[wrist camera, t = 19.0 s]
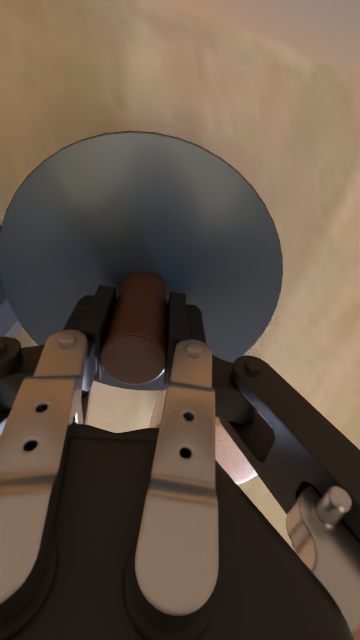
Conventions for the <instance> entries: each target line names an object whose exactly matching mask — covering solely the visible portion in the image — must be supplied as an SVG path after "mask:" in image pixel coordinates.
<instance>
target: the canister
mask: <svg viewBox="0 0 360 640" xmlns="http://www.w3.org/2000/svg"><path fill="white" fill-rule="evenodd" d="M0 232H1V228H0ZM21 328H22V325H21V324H20V322H19V321H18V319H17V317H16V316H15V314H14V312H13V310H12V308H11V306H10V304H9V302H8V299H7V297H6V294H5V291H4V287H3V284H2V281H1V275H0V337H11V338H14V337H15V336H16V335H17V334H18V332H19V331H20V330H21Z"/></svg>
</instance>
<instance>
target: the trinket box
mask: <svg viewBox="0 0 360 640" xmlns="http://www.w3.org/2000/svg"><path fill="white" fill-rule="evenodd" d="M166 391H167V389H165V390H164V391H163V392H162V394H161V395H160V397H159V399H158V401H157V402H156V405H155V407H154V410H153V414H152V417H151V421H150V427H149V428H160V423H161V418H162V412H163V407H164V402H165V396H166ZM258 413H259V412H258ZM215 460H216V461H217V462H218V463H219V464H220V465H221V466H222V468H223V469H224V470H225V471H226V472H227V473H228V475H229V476H230V477H231V478H232V479H233V480H234V482H235V483H236V484H237V485H238V484H241V483H243V482H246V481H248V480H249V479H251V478H253V477H254V476H256V475H257V473H256V471H255V470H254V469H253V467H252V466H251V464H250V463H249V462H248V460H247V459H246V458H245V456H244V455H243V453H242V452H241V451H240V449H239V448H238V447H237V445H236V444H235V442H234V441H233V440H232V438H231V437H230V436H229V434H228V433H227V431H226V430H225V429H224V427H223V426H222V425H221V423H220V421H219V417H216V416H215Z"/></svg>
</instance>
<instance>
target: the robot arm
mask: <svg viewBox="0 0 360 640" xmlns="http://www.w3.org/2000/svg"><path fill="white" fill-rule="evenodd" d="M116 300H117V291H116V287H112V286H102V285H99V286H98V288H97V291H96V293H95V295H94V296H92V295H85V296H84V297H83V298H81V299H80V300H78V302H77V304H76V306H75V308H74V309H73V311H72V314H71V315H70V317H69V319H68V321H67V323H66V324H65V326H64V328H63V330H61V331H58V332H55V333H53V334H52V335H50V336H49V337H48V338H47V340H46V342H45V344H44V345H40V346H34V347H26V348H21V346H20V343H19V341H18V340H16V339H14V338H11V337H0V435H1V436H0V640H354V637H353V635H352V634H353V633H354V632H355V631H356V630H357V629H358V628H359V627H360V450H359V449H358V448H357V447H356V446H355V445H354V444H353V443H352V442H350V441H349V440H348V439H347V438H346V437H345V436H344V435H343V434H342V433H341V432H340V431H339V430H338V429H337V428H336V427H334V426H333V425H332V424H331V423H330V422H329V421H328V420H327V419H326V418H325V417H324V416H323V415H322V414H321V413H320V412H318V411H317V410H316V409H315V408H314V407H313V406H312V405H311V404H310V403H309V402H308V401H307V400H306V399H305V398H303V397H302V396H301V395H300V394H299V393H298V392H297V391H296V390H295V389H294V388H293V387H292V386H291V385H290V384H289V383H287V382H286V381H285V380H284V379H283V378H282V377H281V376H280V375H279V374H278V373H277V372H276V371H275V370H274V369H272V368H271V367H270V366H269V365H268V364H267V363H266V362H265V361H263V360H261V359H259V358H257V357H253V356H240V357H238V358H237V359H236V360H235V361H234V363H232V362H228V361H225V360H222V359H220V358H218V357H216V356H214V355H213V354H212V350H211V348H210V347H209V346H208V345H207V344H206V338H205V332H204V325H203V319H202V313H201V310H200V309H199V308H198V307H197V306H196V305H192V304H186V295H185V293H177V292H170V293H169V300H168V333H167V365H166V368H165V370H164V384H167V385H168V386H167V391H166V396H165V402H164V407H163V412H162V418H161V423H160V428H146V429H140V430H135V431H129V432H123V433H113V432H109V431H106V430H102V429H99V428H96V427H92V426H89V425H87V420H88V412H89V404H90V397H91V386H92V383H93V380H101V379H102V375H103V372H104V369H103V367H102V365H101V362H100V350H101V347H102V344H103V341H104V337H105V334H106V331H107V328H108V325H109V322H110V319H111V315H112V312H113V309H114V306H115V303H116ZM258 412H259V413H260V414H261V415H260V414H259V413H258ZM215 416H216V417H219V421H220V423H221V425H222V426H223V427H224V429H225V430H226V431H227V433H228V434H229V436H230V437H231V438H232V440H233V441H234V442H235V444H236V445H237V447H238V448H239V449H240V451H241V452H242V453H243V455H244V456H245V458H246V459H247V460H248V462H249V463H250V464H251V466H252V467H253V469H254V470H255V471H256V473H257V474H258V475H259V477H260V478H261V480H262V481H263V482H264V484H265V485H266V487H267V488H268V489H269V491H270V492H271V493H272V495H273V496H274V498H275V499H276V500H277V502H278V503H279V504H280V506H281V507H282V509H283V510H284V511H285V513H286V514H287V518H286V529H287V532H288V535H289V538H290V540H291V542H292V546H293V548H294V550H295V551H296V552H297V554H298V555H297V554H296V553H295V551H294V550H293V549H292V548H291V547H290V546H289V544H288V543H287V542H286V541H285V540H284V539H283V537H282V536H281V535H280V534H279V533H278V532H277V530H276V529H275V528H274V527H273V526H272V525H271V523H270V522H269V521H268V520H267V519H266V518H265V517H264V515H263V514H262V513H261V512H260V511H259V510H258V508H257V507H256V506H255V505H254V504H253V503H252V501H251V500H250V499H249V498H248V497H247V496H246V494H245V493H244V492H243V491H242V490H241V489H240V487H239V486H238V485H237V484H236V483H235V482H234V480H233V479H232V478H231V477H230V476H229V475H228V473H227V472H226V471H225V470H224V469H223V468H222V466H221V465H220V464H219V463H218V462H217V461H216V460H215ZM263 418H264V419H265V420H266V421H267V422H268V423H267V422H266V421H265V420H264V419H263ZM270 426H271V427H272V428H271V427H270Z"/></svg>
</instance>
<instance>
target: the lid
mask: <svg viewBox="0 0 360 640" xmlns="http://www.w3.org/2000/svg"><path fill="white" fill-rule="evenodd" d="M0 275H1V281H2V284H3V287H4V291H5V294H6V297H7V299H8V302H9V304H10V306H11V308H12V310H13V312H14V314H15V316H16V317H17V319H18V321H19V322H20V324H21V325H22V327H23V328H24V329H25V331H26V332H27V333H28V334H29V336H30V337H31V338H32V339H33V340H34V341H35V342H36V343H37V344H38V345H39V346H40V345H44V344H45V342H46V340H47V338H48V337H49V336H50V335H52V334H53V333H55V332H58V331H61V330H63V328H64V326H65V324H66V323H67V321H68V319H69V317H70V315H71V314H72V311H73V309H74V308H75V306H76V304H77V302H78V300H80V299H81V298H83V297H84V296H85V295H92V296H94V295H95V293H96V291H97V288H98V286H99V285H102V286H112V287H116V291H117V300H116V303H115V306H114V309H113V312H112V315H111V319H110V322H109V325H108V328H107V331H106V334H105V337H104V341H103V344H102V347H101V350H100V362H101V365H102V367H103V369H104V372H103V375H102V379H101V380H94V381H96V382H100V383H103V384H106V385H110V386H114V387H119V388H124V389H133V390H165V389H167V386H168V385H167V384H164V370H165V368H166V365H167V333H168V300H169V293H170V292H177V293H185V295H186V304H192V305H196V306H197V307H198V308H199V309H200V310H201V313H202V319H203V325H204V332H205V338H206V344H207V345H208V346H209V347H210V348H211V350H212V354H213V355H214V356H216V357H218V358H220V359H222V360H225V361H228V362H232V363H234V361H235V360H236V359H237V358H238V357H240V356H244V355H245V354H246V353H247V352H248V351H249V350H250V349H251V348H252V347H253V345H254V344H255V343H256V342H257V340H258V339H259V338H260V337H261V335H262V334H263V332H264V331H265V329H266V327H267V326H268V324H269V322H270V320H271V318H272V316H273V313H274V311H275V309H276V306H277V303H278V299H279V295H280V291H281V284H282V276H283V263H282V252H281V246H280V240H279V237H278V234H277V231H276V228H275V225H274V221H273V219H272V217H271V215H270V213H269V211H268V209H267V208H266V206H265V204H264V202H263V201H262V199H261V198H260V197H259V195H258V194H257V192H256V191H255V189H254V188H253V187H252V186H251V185H250V184H249V182H248V181H247V180H246V179H245V178H244V177H243V176H242V175H241V174H240V173H239V172H238V171H237V170H236V169H234V168H233V167H232V166H230V165H229V164H228V163H226V162H225V161H224V160H223V159H221V158H220V157H219V156H217V155H215V154H213V153H211V152H210V151H208V150H206V149H204V148H203V147H201V146H199V145H197V144H194V143H191V142H189V141H186V140H183V139H181V138H178V137H174V136H169V135H165V134H160V133H156V132H142V131H124V132H114V133H105V134H101V135H97V136H94V137H90V138H86V139H82V140H80V141H78V142H76V143H73V144H71V145H69V146H67V147H64V148H62V149H61V150H59V151H58V152H56V153H55V154H53V155H52V156H50V157H49V158H47V159H46V160H44V161H43V162H42V163H41V164H40V165H39V166H38V167H37V168H35V169H34V170H33V171H32V172H31V173H30V174H29V175H28V176H27V178H26V179H25V180H24V182H23V183H22V184H21V186H20V187H19V188H18V190H17V191H16V193H15V194H14V196H13V198H12V200H11V202H10V204H9V206H8V208H7V211H6V214H5V217H4V220H3V223H2V226H1V232H0Z"/></svg>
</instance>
